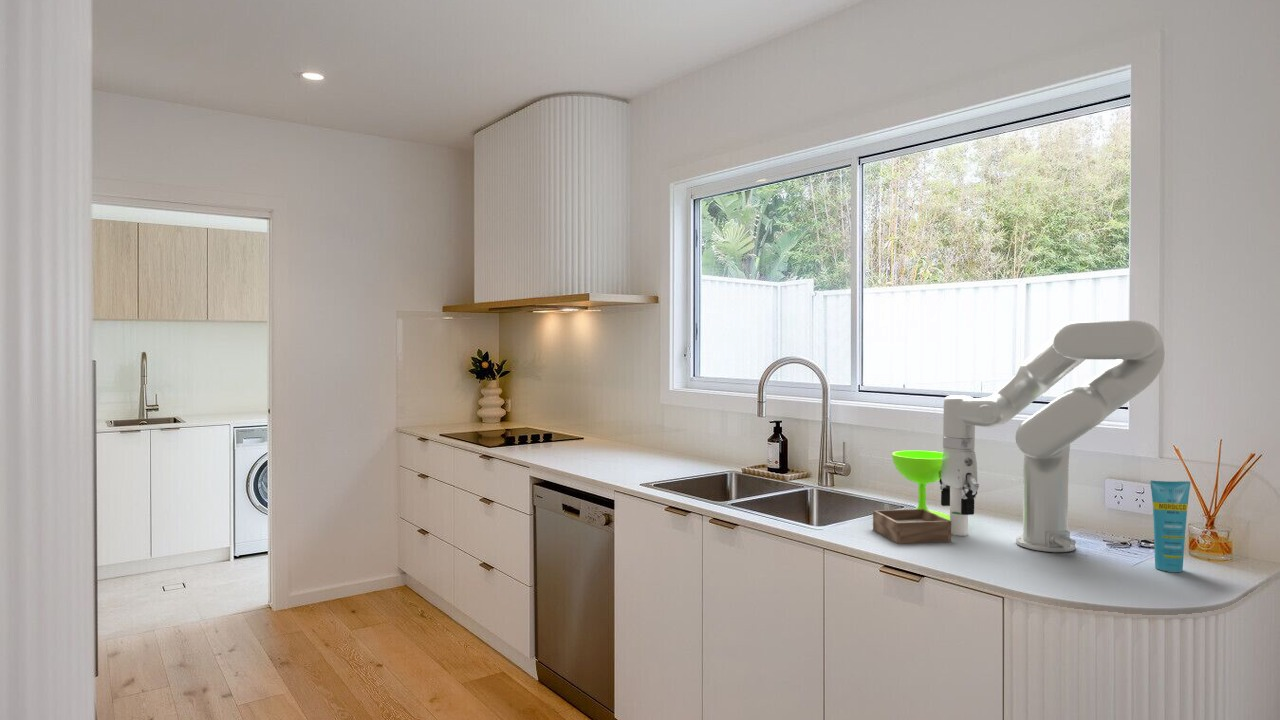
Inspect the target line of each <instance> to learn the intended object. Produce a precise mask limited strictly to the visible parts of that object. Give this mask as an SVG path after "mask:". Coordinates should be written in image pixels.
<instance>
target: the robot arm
mask: <svg viewBox="0 0 1280 720" xmlns="http://www.w3.org/2000/svg"><path fill="white" fill-rule="evenodd" d="M1161 335H1162V334H1160V331H1159V330H1158V329H1157V328H1156V327H1155V326H1154V325H1153V324H1150V323H1149V322H1146V321H1141V320H1114V321H1113V320H1111V321H1110V320H1109V321H1108V320H1107V321H1104V320H1103V321H1069V322H1065V323H1064V324H1061V325H1060V326H1058V327H1057V328H1056V330H1055V331H1054V333H1053V334H1052V337H1051V338H1050V339H1049V340H1048V341H1046V342H1045V343H1044V344H1043V345H1042V346H1041V347H1039V348H1038V349H1036V351H1035V352H1033V353H1032V354H1031V355H1030V356H1028V357H1027V358H1026V359H1025V360H1024V361H1023V362H1021V364H1020V366H1019V368H1018V371H1016V373H1015V374H1014V376H1013V377H1012V378H1010V380H1008V381H1007V382H1006V383H1005V384H1004V385H1003V386H1001V387H1000V388H999V389H998V390H997V391H996V392H994V393H993V394H992V395H989V396H986V397H979V398H978V397H976V398H974V397H972V396H969V395H948V396H945V398H944V400H943V415H942V416H943V418H942V419H943V420H942V422H943V424H942V425H943V426H942V428H943V429H942V449H943V450H942V453H943V456H942V466H941V471H939V478H940V479H939V480H938V481H939V484H940V486H939V488H940V490H941V491H940V506H942V507H950V486H951V487H953V488H955V489H958V490H960V491H961V493H962V496H963V499H961V514H962V515H968V516H970V515H971V516H973V515H974V514H975V500H976V498H977V494H978V490H979V487H980V484H979V482H978V462H977V455H976V450H975V446H976V445H975V440H976V438H975V437H976V426H977V427H982V428H991V429H992V428H995V427H998V426H1000V425H1004V424H1006V423H1007V422H1009V421H1011V420H1012V419H1014V418H1015V417H1016V416H1017V415H1019V413H1021V412H1022V411H1023V410H1025V409H1026V408H1027V407H1028V406H1030V405H1031V404H1032V403H1034V401H1035V400H1037V399H1038V398H1039V397H1040V396H1042V395H1043V394H1045V393H1046V392H1048V390H1050V389H1051V388H1052V387H1053V386H1054V385H1056V383H1058V382H1060V381H1061V380H1062V379H1063V378H1064V377H1065V376H1067V374H1070V372H1072V371H1073V370H1074V369H1075V368H1076V367H1078V366H1079V365H1081V364H1082V363H1084V361H1086V360H1115V361H1114V362H1112V363H1111V364H1110V365H1108V366H1107V367H1106V368H1104V369H1102V370H1101V371H1100V372H1099V373H1098V374H1096V375H1095V376H1093V377H1092V378H1091V379H1089V380H1087V381H1086V382H1085V383H1083V384H1082V385H1081V384H1080V386H1077V387H1074V388H1072V389H1069V390H1067V391H1065V392H1063V393H1062V394H1061V395H1059V396H1057V397H1056V398H1054V399H1053V400H1052V401H1050V402H1049V403H1047V404H1046V405H1045V406H1043V407H1042V408H1041V409H1040V410H1038V411H1036V412H1035V413H1034V414H1032V415H1031V416H1029V417H1028V418H1026V419H1025V420H1024V421H1022V423H1020V425H1019V426H1018V428H1017V429H1016V432H1015V443H1016V446H1017V448H1018V449H1019V450H1020V451H1021V453H1023V455H1024V457H1023V470H1022V471H1023V473H1022V474H1023V475H1022V476H1023V477H1022V478H1023V483H1022V486H1023V487H1022V488H1023V489H1022V513H1023V514H1022V534H1020V535H1018V536H1016V537H1015V543H1016V545H1018V546H1020V547H1023V548H1025V549H1029V550H1034V551H1040V552H1047V553H1068V552H1073V551H1075V550H1076V544H1077V542H1076V540H1075V539H1073V538H1071V532H1070V531H1069V470H1070V469H1069V467H1070V465H1069V463H1070V462H1069V461H1070V450H1071V449H1070V448H1071V444H1072V443H1074V442H1075V441H1076V440H1077V439H1079V438H1080V437H1082V436H1083V435H1085V434H1086V433H1088V432H1089V431H1091V430H1092V429H1094V428H1096V427H1097V426H1098V425H1101V423H1102V422H1104V421H1105V419H1107V417H1108V416H1110V415H1111V414H1113V413H1114V412H1115V411H1117V410H1118V409H1120V408H1121V407H1123V406H1124V405H1126V404H1127V403H1128V402H1129V401H1131V400H1132V399H1133V398H1135V397H1136V396H1137V395H1139V394H1140V393H1141V392H1143V391H1144V390H1146V389H1147V388H1148V387H1149V386H1150V385H1151V384H1152V383H1153V382H1154V381H1155V380H1156V379H1157V378H1158V376H1159V374H1160V372H1161V371H1162V368H1163V365H1164V362H1165V346H1164V342H1163V341H1164V340H1163V337H1162V336H1161ZM967 486H968V487H967ZM966 491H968V492H967V493H966Z"/></svg>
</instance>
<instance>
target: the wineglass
mask: <svg viewBox="0 0 1280 720" xmlns="http://www.w3.org/2000/svg"><path fill="white" fill-rule="evenodd" d="M942 456H943V451H942V452H941V451H930V450H899V451H893V452H892V453H891V457H892V461H893V464H894V467H895V468H896V470H897V471H898V472H899V474H900V475H901V476H902V477H904V478H905V479H906V480H908V481H910V482H913V483H916V484H918V505H917V507H916V508H915V509H925V510H927V511H929V512H932V513H934V514H936V515H938V516H941V517H943V518H945V519H947V520H950V514H949V515H948V514H946V513H944V512H940V511H936V510H931V509H928V507H927V484H928V485H929V484H931V483H936V482H938V481H940V478H939V471H941V466H942Z"/></svg>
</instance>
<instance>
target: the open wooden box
mask: <svg viewBox="0 0 1280 720" xmlns="http://www.w3.org/2000/svg"><path fill="white" fill-rule="evenodd" d="M872 529H873V530H874V531H875V532H877V533H878V534H880V535H882V536H884V537H885V538H887V539H889V540H890V541H892V542H894V543H896V544H912V543H913V544H919V543H920V544H921V543H942V542H944V543H945V542H946V543H947V542H952V534H951V521H950V520H947V519H945V518H943V517H941V516H938V515H936V514H934V513H932V512H929V511H927V510H925V509H916V508H913V509H911V508H909V509H882V510H881V509H880V510H878V509H877V510H872Z"/></svg>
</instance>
